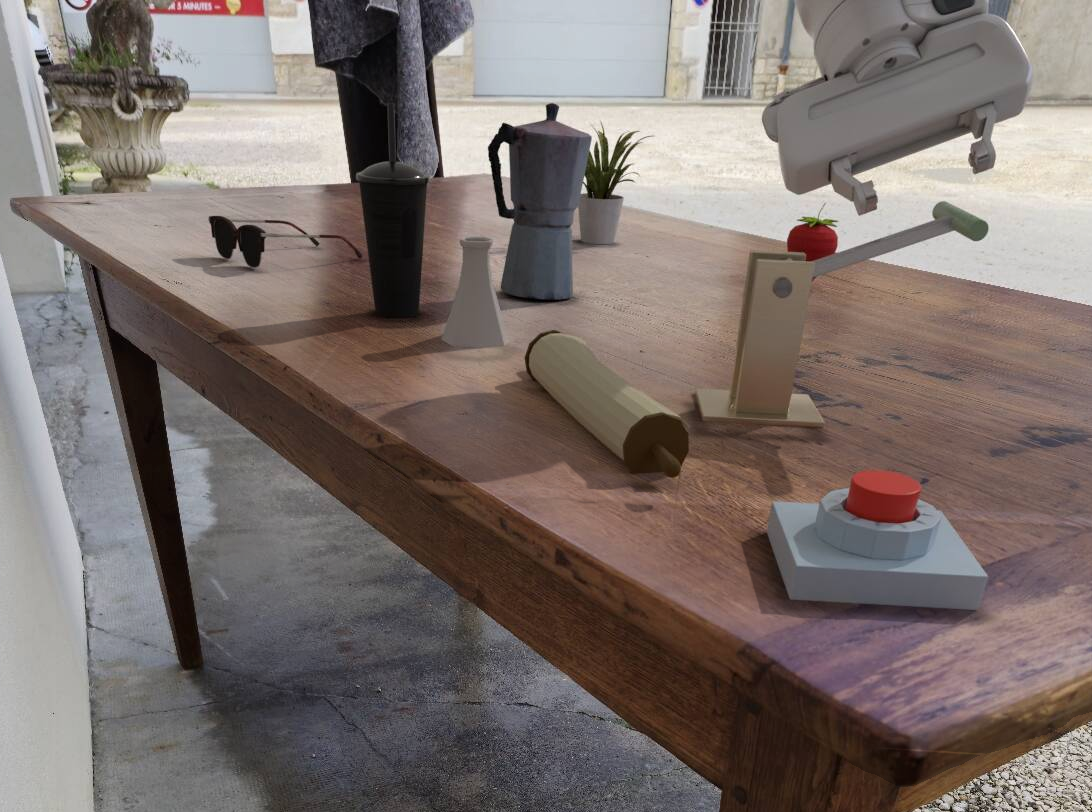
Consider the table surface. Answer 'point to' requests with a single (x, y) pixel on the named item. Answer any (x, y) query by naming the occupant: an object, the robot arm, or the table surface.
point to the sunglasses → (253, 238)
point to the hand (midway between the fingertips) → (926, 187)
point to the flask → (475, 301)
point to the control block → (872, 557)
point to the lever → (907, 238)
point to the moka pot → (540, 203)
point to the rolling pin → (608, 405)
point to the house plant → (603, 191)
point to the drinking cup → (394, 230)
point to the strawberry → (813, 238)
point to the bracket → (767, 347)
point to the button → (883, 497)
